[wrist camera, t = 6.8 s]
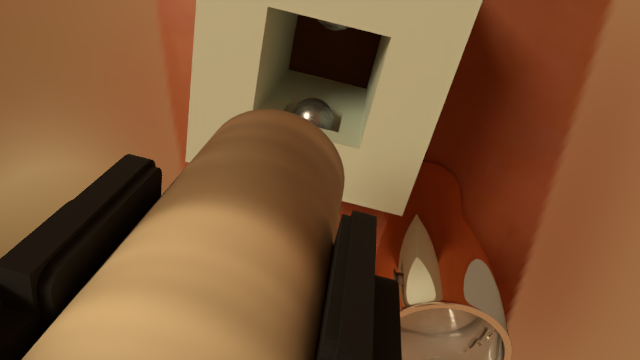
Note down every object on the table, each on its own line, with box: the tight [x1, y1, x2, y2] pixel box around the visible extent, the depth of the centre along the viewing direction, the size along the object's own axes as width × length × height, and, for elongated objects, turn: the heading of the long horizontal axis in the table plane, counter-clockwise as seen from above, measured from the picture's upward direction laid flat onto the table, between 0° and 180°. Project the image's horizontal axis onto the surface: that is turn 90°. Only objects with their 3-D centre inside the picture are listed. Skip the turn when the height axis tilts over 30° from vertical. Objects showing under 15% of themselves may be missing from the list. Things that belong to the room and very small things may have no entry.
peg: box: [22, 109, 345, 360], centre depth 9 cm, size 4×4×10 cm
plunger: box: [292, 98, 334, 131], centre depth 26 cm, size 6×2×2 cm, turn 168°
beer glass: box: [375, 162, 512, 360], centre depth 28 cm, size 7×7×15 cm
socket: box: [186, 0, 483, 216], centre depth 25 cm, size 12×12×10 cm
